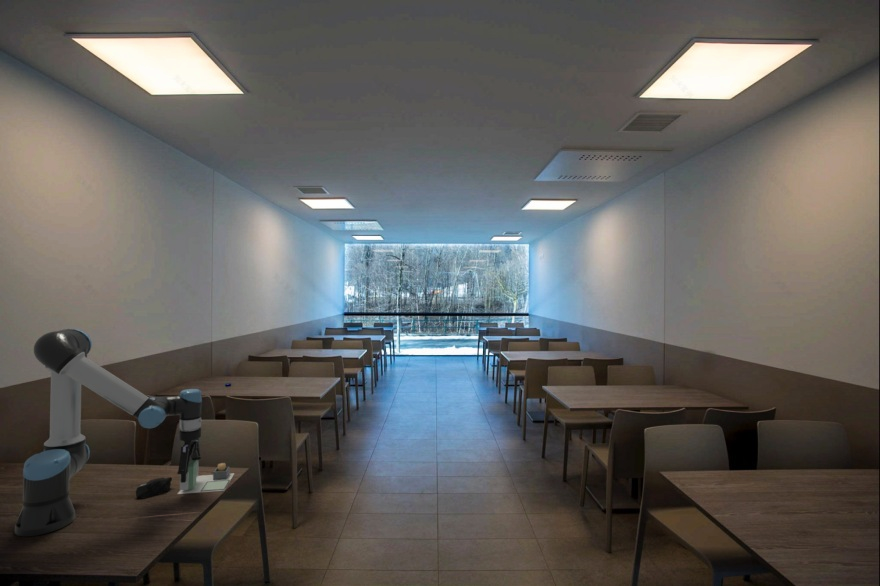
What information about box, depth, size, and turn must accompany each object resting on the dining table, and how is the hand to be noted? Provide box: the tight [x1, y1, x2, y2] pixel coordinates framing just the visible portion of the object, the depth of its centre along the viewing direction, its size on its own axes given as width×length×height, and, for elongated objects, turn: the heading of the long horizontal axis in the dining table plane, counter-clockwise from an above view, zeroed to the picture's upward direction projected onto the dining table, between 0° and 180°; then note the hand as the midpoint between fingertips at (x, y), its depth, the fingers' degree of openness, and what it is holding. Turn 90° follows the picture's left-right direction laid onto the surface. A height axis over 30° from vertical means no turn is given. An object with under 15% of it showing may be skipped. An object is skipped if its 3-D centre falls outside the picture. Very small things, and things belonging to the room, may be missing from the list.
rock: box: [135, 477, 173, 499], centre depth 170 cm, size 10×9×6 cm
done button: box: [217, 462, 227, 471], centre depth 186 cm, size 3×3×3 cm
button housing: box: [212, 466, 231, 480], centre depth 186 cm, size 5×5×3 cm
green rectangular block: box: [182, 459, 197, 491], centre depth 174 cm, size 4×4×11 cm
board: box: [177, 472, 235, 495], centre depth 180 cm, size 17×17×1 cm
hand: (189, 483), depth 174 cm, fingers open, 12 cm apart
